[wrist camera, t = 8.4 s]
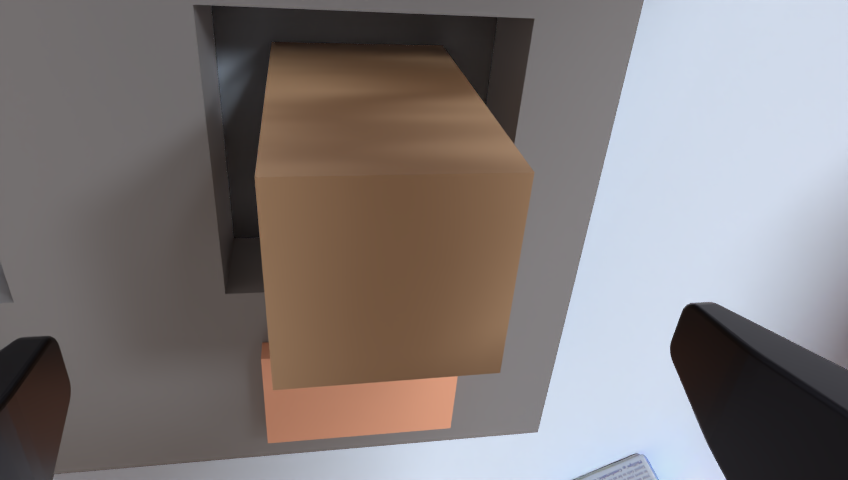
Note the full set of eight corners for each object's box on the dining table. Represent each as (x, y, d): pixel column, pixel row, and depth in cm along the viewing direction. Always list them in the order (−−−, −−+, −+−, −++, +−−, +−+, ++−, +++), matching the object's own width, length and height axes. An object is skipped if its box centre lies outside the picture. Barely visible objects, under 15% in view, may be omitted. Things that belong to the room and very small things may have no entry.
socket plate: (607, -84, 14) (677, -68, 12) (513, 374, 21) (543, 447, 19) (-666, -179, 10) (-997, -185, 7) (-246, 426, 17) (-340, 528, 15)
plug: (442, 45, 15) (534, 172, 9) (430, 193, 17) (499, 372, 11) (271, 42, 14) (254, 177, 9) (281, 196, 16) (273, 390, 11)
